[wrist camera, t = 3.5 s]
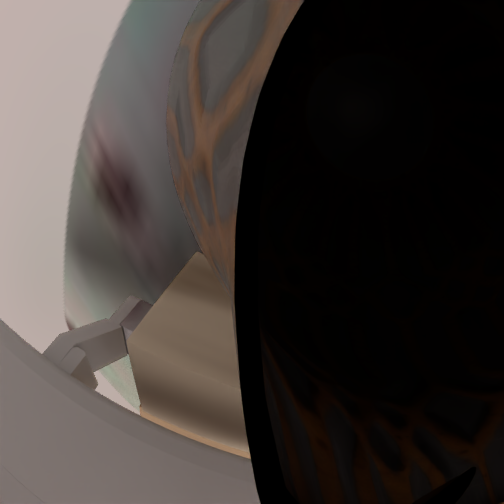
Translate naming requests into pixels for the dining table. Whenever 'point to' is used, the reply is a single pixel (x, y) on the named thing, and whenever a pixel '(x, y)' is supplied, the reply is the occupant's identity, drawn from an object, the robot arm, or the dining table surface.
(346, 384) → the vase
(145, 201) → the dining table surface
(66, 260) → the dining table surface
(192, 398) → the maple cube
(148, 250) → the dining table surface
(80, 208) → the dining table surface
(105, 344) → the robot arm
